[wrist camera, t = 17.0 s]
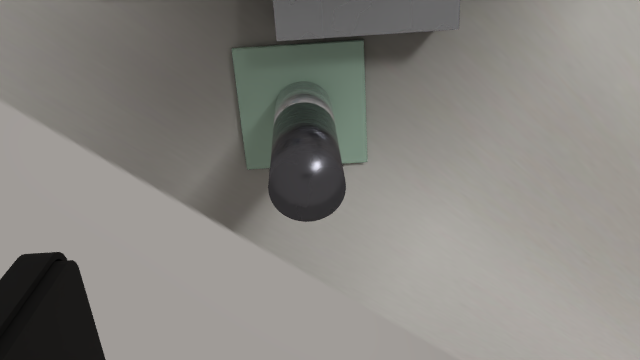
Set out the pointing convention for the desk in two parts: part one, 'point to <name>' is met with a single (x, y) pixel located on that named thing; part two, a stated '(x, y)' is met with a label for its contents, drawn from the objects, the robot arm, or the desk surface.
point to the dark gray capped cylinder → (305, 154)
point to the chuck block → (361, 17)
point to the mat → (294, 66)
